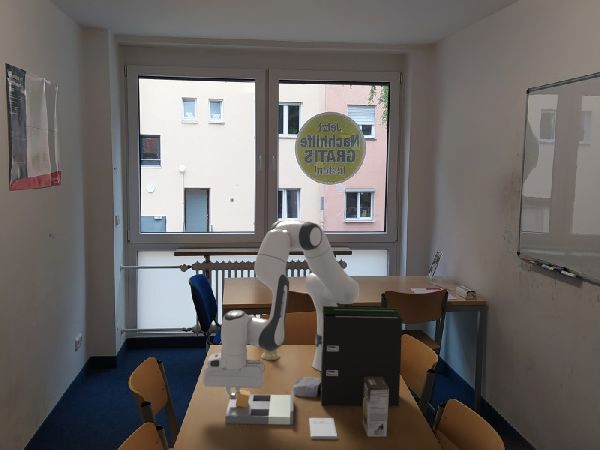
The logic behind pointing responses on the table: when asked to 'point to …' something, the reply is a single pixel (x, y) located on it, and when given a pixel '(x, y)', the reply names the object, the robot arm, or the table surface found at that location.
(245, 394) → the block
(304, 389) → the stone block
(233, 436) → the table surface
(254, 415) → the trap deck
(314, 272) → the robot arm
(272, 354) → the hand bell
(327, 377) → the binder
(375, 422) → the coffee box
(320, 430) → the external hard drive
